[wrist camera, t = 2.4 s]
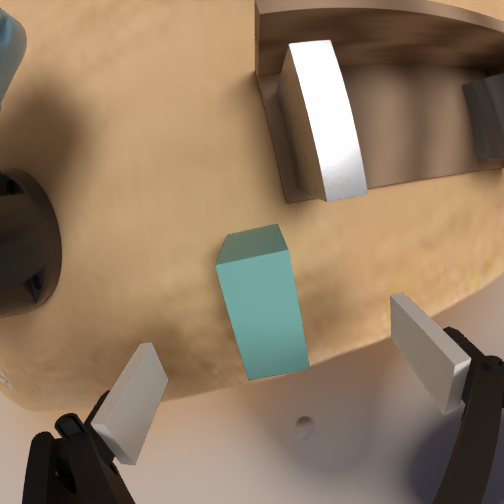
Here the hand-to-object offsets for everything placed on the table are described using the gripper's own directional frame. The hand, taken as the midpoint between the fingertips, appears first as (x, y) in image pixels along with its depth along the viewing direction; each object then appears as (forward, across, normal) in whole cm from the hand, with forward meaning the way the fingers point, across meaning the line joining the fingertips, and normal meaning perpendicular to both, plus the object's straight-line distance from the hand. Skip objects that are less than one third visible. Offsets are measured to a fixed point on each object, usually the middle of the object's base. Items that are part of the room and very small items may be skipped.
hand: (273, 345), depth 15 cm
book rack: (+10, +15, +12) cm, 21 cm away
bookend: (+9, +5, +11) cm, 14 cm away
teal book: (+10, 0, 0) cm, 10 cm away
